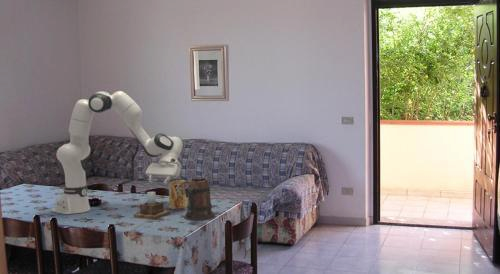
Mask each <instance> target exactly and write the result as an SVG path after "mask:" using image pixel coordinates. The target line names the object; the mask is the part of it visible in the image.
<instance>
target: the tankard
mask: <svg viewBox="0 0 500 274" xmlns="http://www.w3.org/2000/svg"><path fill="white" fill-rule="evenodd" d="M186 189H187V190H186V192H187V204H186V208H187V209H186V210H187V211H186V213H185V216H184V217H183V219H184V220H186V221H190V222H191V221H192V222H202V221H203V222H204V221H210V220H213V219H215V218H216V217H217V216H216V214H214V212H213V211H212V208H213V207H212V203H211V202H212V201H211V200H212V199H211V185H210V183H209V179H208V178H201V177H199V178H190V179H188V183H187V187H186Z"/></svg>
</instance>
